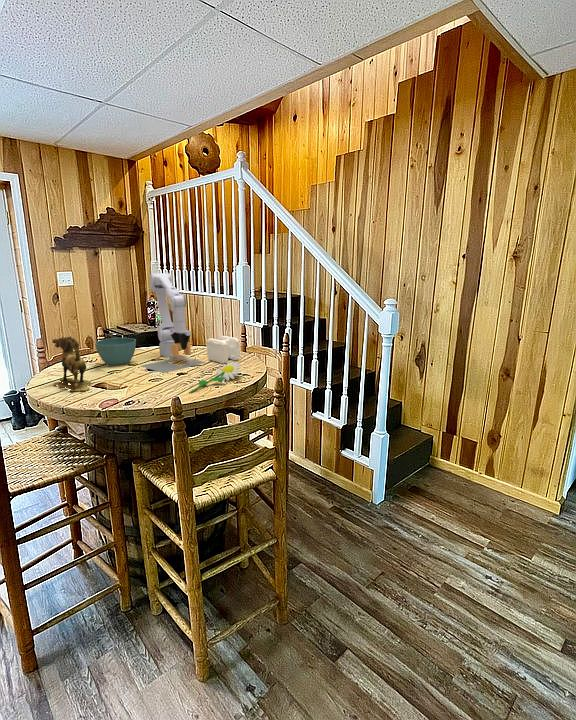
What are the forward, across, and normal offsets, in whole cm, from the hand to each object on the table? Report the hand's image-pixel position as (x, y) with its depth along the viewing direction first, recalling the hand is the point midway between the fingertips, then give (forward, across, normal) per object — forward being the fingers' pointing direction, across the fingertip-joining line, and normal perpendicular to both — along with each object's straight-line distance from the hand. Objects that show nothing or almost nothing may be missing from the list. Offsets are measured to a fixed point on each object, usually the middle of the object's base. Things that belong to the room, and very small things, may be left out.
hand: (181, 348), depth 198 cm
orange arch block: (+3, 0, 0) cm, 3 cm away
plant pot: (+8, -24, -20) cm, 33 cm away
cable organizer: (+9, +9, +18) cm, 22 cm away
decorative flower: (+9, +36, -9) cm, 38 cm away
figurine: (+9, -7, -48) cm, 50 cm away
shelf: (+8, 0, -5) cm, 10 cm away
